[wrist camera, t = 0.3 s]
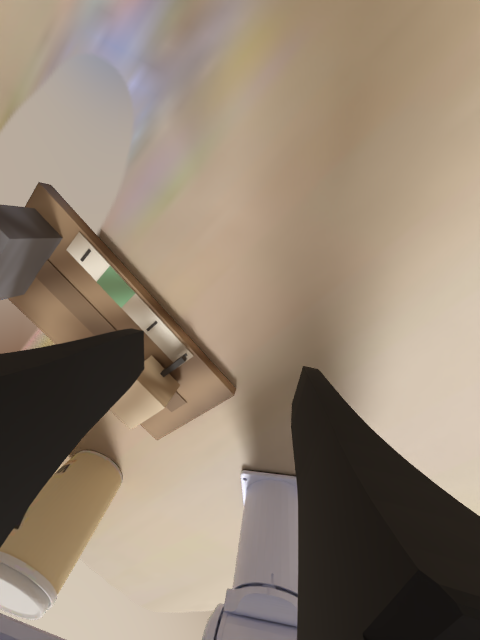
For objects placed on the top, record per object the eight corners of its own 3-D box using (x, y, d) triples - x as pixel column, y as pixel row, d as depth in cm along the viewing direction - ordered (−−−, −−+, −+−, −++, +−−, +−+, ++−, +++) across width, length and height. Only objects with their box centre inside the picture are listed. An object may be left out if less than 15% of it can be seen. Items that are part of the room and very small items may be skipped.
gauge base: (236, 388, 22) (224, 428, 18) (161, 433, 27) (136, 474, 22) (50, 184, 18) (-27, 168, 14) (-3, 275, 23) (-75, 285, 18)
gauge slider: (201, 370, 21) (188, 392, 18) (149, 406, 24) (130, 430, 21) (172, 338, 20) (153, 355, 17) (121, 379, 23) (98, 400, 20)
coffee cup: (75, 434, 30) (-47, 552, 19) (136, 469, 30) (52, 604, 19) (63, 470, 33) (-45, 587, 22) (117, 501, 34) (38, 630, 23)
